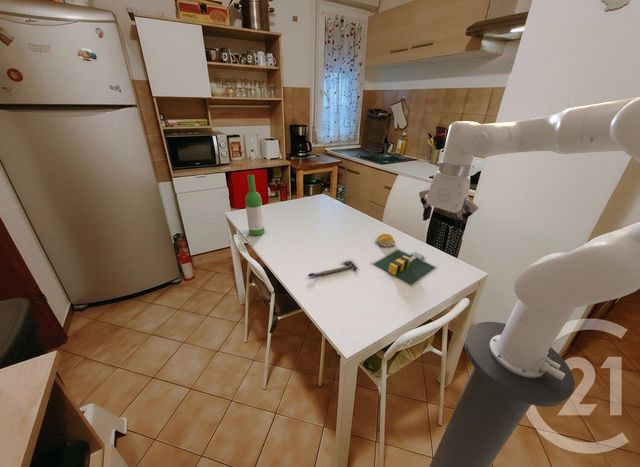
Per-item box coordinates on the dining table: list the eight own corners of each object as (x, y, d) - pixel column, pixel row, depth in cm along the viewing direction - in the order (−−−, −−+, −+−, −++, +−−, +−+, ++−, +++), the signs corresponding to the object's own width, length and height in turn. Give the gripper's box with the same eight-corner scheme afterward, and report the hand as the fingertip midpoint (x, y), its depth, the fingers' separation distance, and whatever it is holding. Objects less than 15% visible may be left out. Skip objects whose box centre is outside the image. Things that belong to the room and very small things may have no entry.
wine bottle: (266, 229, 138) (261, 173, 124) (262, 236, 132) (256, 178, 118) (252, 228, 139) (245, 172, 125) (247, 235, 132) (239, 177, 118)
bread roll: (391, 238, 132) (392, 231, 130) (395, 247, 124) (397, 239, 122) (374, 238, 132) (375, 231, 130) (378, 247, 124) (379, 239, 122)
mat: (434, 267, 110) (434, 267, 110) (411, 284, 99) (411, 284, 99) (398, 250, 122) (398, 249, 122) (373, 264, 111) (373, 263, 111)
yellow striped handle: (423, 257, 116) (425, 250, 114) (395, 276, 104) (397, 267, 102) (414, 253, 119) (416, 246, 117) (386, 271, 107) (388, 262, 105)
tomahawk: (350, 262, 113) (350, 260, 113) (357, 270, 108) (357, 267, 107) (304, 271, 107) (304, 268, 106) (309, 279, 101) (309, 277, 101)
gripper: (419, 165, 77) (409, 218, 85) (482, 178, 65) (463, 238, 73) (432, 162, 81) (421, 213, 89) (493, 173, 70) (474, 231, 77)
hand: (440, 224), depth 81 cm, fingers open, 9 cm apart
